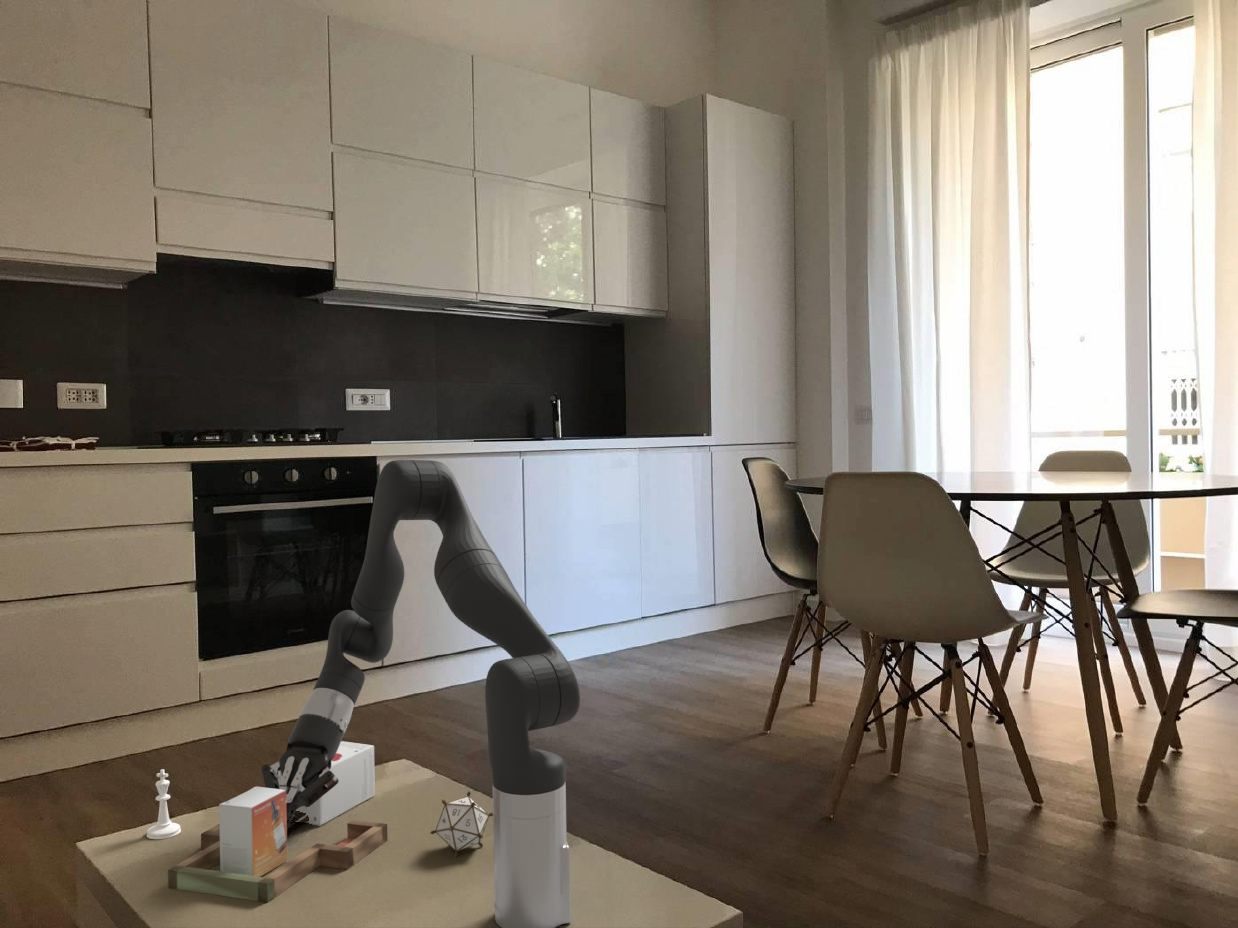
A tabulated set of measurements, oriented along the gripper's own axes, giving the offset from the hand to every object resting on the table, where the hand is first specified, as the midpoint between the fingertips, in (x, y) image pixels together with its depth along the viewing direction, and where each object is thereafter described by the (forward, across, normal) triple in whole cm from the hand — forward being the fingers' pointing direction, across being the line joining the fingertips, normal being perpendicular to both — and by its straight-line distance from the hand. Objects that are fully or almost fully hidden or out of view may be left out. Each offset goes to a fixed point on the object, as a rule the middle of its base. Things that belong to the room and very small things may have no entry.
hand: (275, 830), depth 151 cm
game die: (-4, +25, +10) cm, 27 cm away
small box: (+6, 0, 0) cm, 6 cm away
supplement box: (-20, -4, +19) cm, 28 cm away
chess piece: (+1, -23, +5) cm, 23 cm away
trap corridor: (+4, 0, +2) cm, 4 cm away
